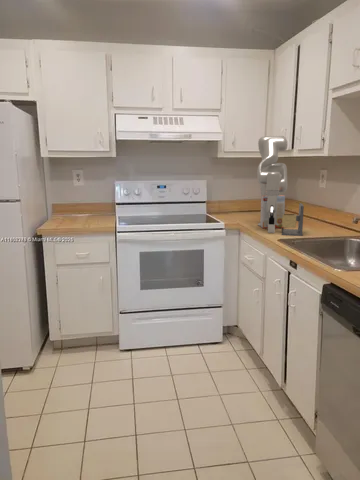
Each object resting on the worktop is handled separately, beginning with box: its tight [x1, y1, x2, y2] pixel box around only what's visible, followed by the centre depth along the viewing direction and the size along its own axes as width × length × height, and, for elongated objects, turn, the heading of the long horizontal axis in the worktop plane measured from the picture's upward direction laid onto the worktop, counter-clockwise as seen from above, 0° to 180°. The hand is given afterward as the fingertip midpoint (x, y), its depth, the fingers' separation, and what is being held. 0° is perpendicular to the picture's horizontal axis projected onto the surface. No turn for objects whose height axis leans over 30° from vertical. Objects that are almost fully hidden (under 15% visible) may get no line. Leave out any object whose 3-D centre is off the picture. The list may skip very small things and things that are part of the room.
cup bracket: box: [281, 202, 305, 237], centre depth 217 cm, size 16×12×17 cm
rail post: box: [267, 211, 276, 234], centre depth 221 cm, size 4×4×14 cm
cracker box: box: [260, 194, 286, 229], centre depth 237 cm, size 14×6×21 cm, turn 92°
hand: (271, 223), depth 221 cm, fingers open, 5 cm apart
